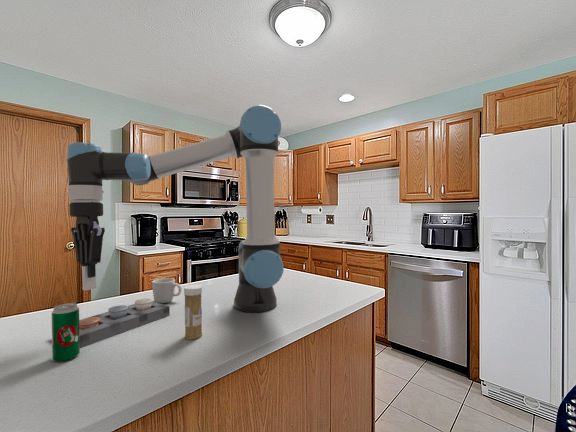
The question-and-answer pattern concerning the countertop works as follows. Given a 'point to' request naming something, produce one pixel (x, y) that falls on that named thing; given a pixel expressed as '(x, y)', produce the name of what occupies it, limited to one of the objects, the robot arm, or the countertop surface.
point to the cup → (165, 290)
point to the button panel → (122, 322)
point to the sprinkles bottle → (193, 311)
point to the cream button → (143, 304)
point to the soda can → (65, 332)
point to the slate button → (118, 311)
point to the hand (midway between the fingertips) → (89, 288)
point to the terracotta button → (88, 322)
